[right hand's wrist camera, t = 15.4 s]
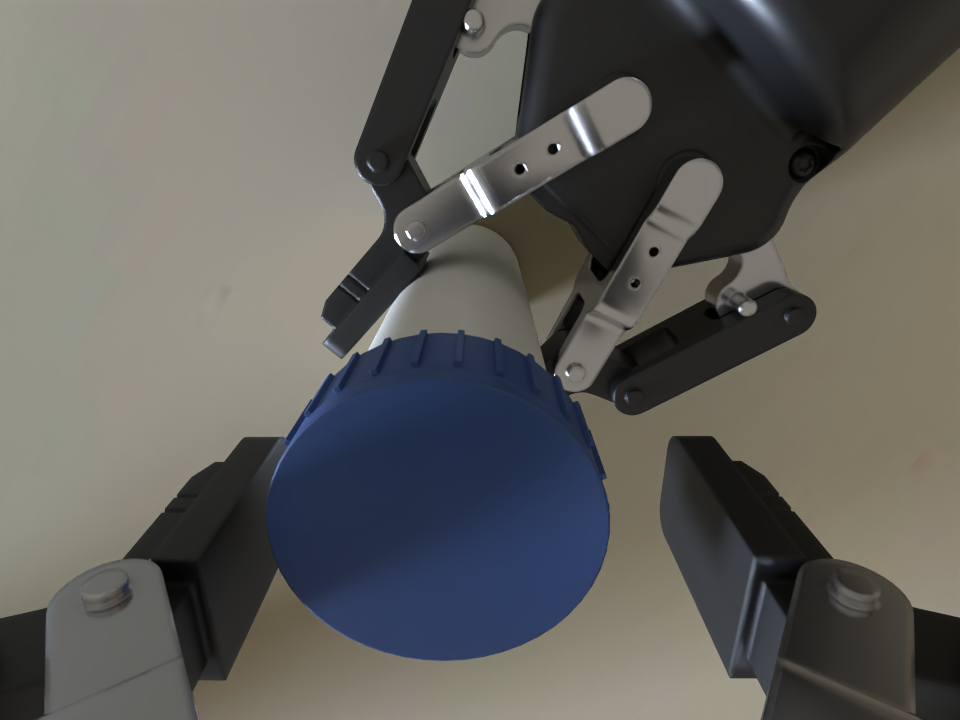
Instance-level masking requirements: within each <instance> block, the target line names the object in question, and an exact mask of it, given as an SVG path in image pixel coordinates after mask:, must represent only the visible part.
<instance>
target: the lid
mask: <svg viewBox="0 0 960 720" xmlns="http://www.w3.org/2000/svg"><path fill="white" fill-rule="evenodd" d="M283 444H284V445H286V446H288V447H287V449H286V450H285V452H284V453H283V455H282V457H281V458H280V460H279V462H278V464H277V466H276V468H275V470H274V471H273V477H272V479H271V484H270V488H269V492H268V497H267V511H266V520H267V530H268V538H269V542H270V545H271V549H272V553H273V556H274V558H275V561H276V563H277V565H278V568H279V570H280V572H281V574H282V575H283V577H284V579H285V580H286V582H287V584H288V585H289V587H290V588H291V589H292V591H293V592H294V593H295V594H296V596H297V597H298V598H299V599H300V601H301V602H302V603H303V604H304V605H305V606H306V607H307V608H308V609H309V610H310V611H311V612H312V613H313V614H314V615H316V616H317V617H318V618H319V619H321V620H322V621H323V622H325V623H326V624H327V625H329V626H330V627H331V628H333V629H335V630H336V631H338V632H340V633H341V634H343V635H345V636H346V637H348V638H350V639H352V640H354V641H356V642H359V643H361V644H363V645H365V646H368V647H371V648H373V649H376V650H379V651H382V652H385V653H389V654H393V655H397V656H402V657H407V658H414V659H421V660H437V661H450V660H466V659H473V658H479V657H485V656H489V655H493V654H497V653H501V652H504V651H507V650H510V649H512V648H515V647H518V646H520V645H523V644H525V643H527V642H529V641H531V640H533V639H535V638H537V637H539V636H540V635H542V634H543V633H545V632H547V631H548V630H550V629H551V628H553V627H554V626H556V625H557V624H558V623H559V622H560V621H562V620H563V619H564V618H565V617H566V616H568V615H569V614H570V613H571V612H572V611H573V609H574V608H575V607H576V606H577V605H578V604H579V603H580V602H581V601H582V599H583V598H584V597H585V595H586V594H587V592H588V591H589V590H590V588H591V587H592V585H593V583H594V581H595V579H596V577H597V575H598V573H599V571H600V569H601V566H602V563H603V560H604V557H605V554H606V551H607V546H608V540H609V534H610V513H609V503H608V500H607V495H606V492H605V488H604V485H603V482H602V480H603V479H606V474H605V471H604V468H603V465H602V462H601V460H600V457H599V454H598V451H597V448H596V446H595V443H594V440H593V437H592V434H591V431H590V430H588V427H587V424H586V421H585V418H584V415H583V412H582V410H581V407H580V404H579V403H578V401H576V402H574V403H573V402H572V400H571V399H570V397H569V396H568V394H567V393H566V391H565V390H564V388H563V385H562V381H561V378H560V377H559V376H558V375H555V376H554V377H553V376H552V375H551V374H550V373H548V372H547V371H546V370H545V369H544V368H542V367H541V366H540V365H539V364H537V363H536V362H535V359H534V356H533V355H532V354H530V353H528V354H527V356H525V355H524V354H522V353H520V352H519V351H516V350H514V349H512V348H510V347H508V346H505V345H503V344H502V342H501V339H499V338H495V339H494V341H492V340H488V339H485V338H482V337H477V336H471V335H466V334H465V330H458V334H457V333H427V330H420V333H419V334H418V335H413V336H408V337H403V338H399V339H396V340H393V341H392V340H391V337H388V338H385V339H384V341H383V343H382V344H381V345H379V346H377V347H375V348H373V349H371V350H369V351H367V352H365V353H363V354H361V355H360V354H359V353H358V352H356V353H355V354H353V355H352V357H351V358H350V360H349V362H348V364H347V365H346V366H345V367H344V368H342V369H341V370H340V371H339V372H338V373H337V374H336V375H335V376H333V375H332V374H331V373H330V374H329V375H328V376H327V378H326V379H325V381H324V382H323V384H322V385H321V387H320V389H319V390H318V392H317V393H316V395H315V397H314V398H313V400H312V399H311V400H310V402H309V403H308V405H307V406H306V408H305V409H304V411H303V413H302V414H301V416H300V417H299V419H298V420H297V422H296V424H295V425H294V427H293V428H292V430H291V431H290V433H289V434H288V436H287V438H286V439H285V441H284V443H283Z"/></svg>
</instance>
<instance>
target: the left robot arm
mask: <svg viewBox="0 0 960 720" xmlns="http://www.w3.org/2000/svg"><path fill="white" fill-rule="evenodd" d="M510 31H523V32H525V33H528V40H527V48H526V55H525V63H524V71H523V79H522V86H521V94H520V102H519V110H518V117H517V125H516V133H515V136H514V137H512V138H511V139H509V140H507V141H506V142H504V143H503V144H501V145H499V146H498V147H496V148H495V149H493V150H491V151H490V152H488V153H487V154H485V155H483V156H482V157H480V158H479V159H477V160H475V161H474V162H472V163H471V164H469V165H468V166H466V167H465V168H463V169H462V170H460V171H459V172H457V173H456V174H454V175H452V176H451V177H449V178H448V179H446V180H444V181H443V182H441V183H440V184H438V185H436V186H435V187H433V188H430V186H429V184H428V182H427V180H426V178H425V177H424V175H423V173H422V171H421V169H420V167H419V165H418V163H417V161H416V160H415V158H416V156H417V153H418V151H419V148H420V146H421V144H422V141H423V139H424V136H425V134H426V132H427V129H428V127H429V124H430V122H431V120H432V117H433V115H434V112H435V110H436V108H437V105H438V103H439V100H440V98H441V96H442V93H443V91H444V88H445V86H446V84H447V81H448V79H449V76H450V74H451V72H452V69H453V67H454V64H455V62H456V59H457V57H458V55H459V53H460V54H462V55H464V56H466V57H470V58H479V57H482V56H484V55H486V54H487V53H489V52H490V51H491V49H492V48H493V47H494V45H495V43H496V42H497V40H498V39H499V38H500V37H501V36H502V35H504V34H505V33H507V32H510ZM958 48H960V0H412V2H411V5H410V8H409V10H408V13H407V16H406V18H405V21H404V23H403V26H402V29H401V31H400V34H399V37H398V39H397V42H396V45H395V47H394V50H393V53H392V55H391V58H390V61H389V63H388V66H387V68H386V71H385V74H384V76H383V79H382V82H381V84H380V87H379V90H378V92H377V95H376V98H375V100H374V103H373V106H372V108H371V111H370V114H369V116H368V119H367V121H366V124H365V127H364V129H363V132H362V135H361V137H360V140H359V143H358V145H357V148H356V151H355V155H354V163H355V167H356V170H357V172H358V174H359V175H360V177H361V178H362V179H363V180H364V181H366V182H367V183H369V185H370V187H371V188H372V190H373V192H374V194H375V196H376V197H377V199H378V201H379V203H380V204H381V207H382V209H383V212H384V217H385V223H384V229H383V232H382V234H381V236H380V237H379V238H378V240H377V241H376V242H375V243H374V244H373V246H372V247H371V248H370V249H369V250H368V251H367V253H366V254H365V255H364V256H363V257H362V259H361V260H360V261H359V262H358V263H357V264H356V266H355V267H354V268H353V269H352V270H351V272H350V273H349V274H348V275H347V276H346V277H345V279H344V280H343V281H342V282H341V283H340V285H339V286H338V287H337V288H336V289H335V290H334V292H333V293H332V294H331V295H330V296H329V297H328V299H327V300H326V302H325V305H324V309H323V312H322V316H321V318H322V319H323V320H324V321H325V322H327V323H328V324H329V325H330V326H332V327H333V328H334V329H333V330H332V332H331V333H330V334H329V336H328V337H327V338H326V340H325V341H324V342H323V345H324V346H325V347H327V348H328V349H329V350H331V351H332V352H333V353H334V354H336V355H337V356H338V357H339V358H341V359H342V358H343V357H344V356H345V355H346V354H347V353H348V352H349V351H350V350H351V349H352V348H353V347H354V345H355V344H356V343H357V342H358V341H359V340H360V339H361V338H362V336H363V335H364V334H365V333H366V332H367V331H368V330H369V329H370V328H371V326H372V325H373V324H374V323H375V322H376V321H377V320H378V319H379V317H380V316H381V315H382V314H383V313H384V312H385V311H386V310H387V308H388V307H389V306H390V305H391V304H392V303H393V302H394V301H395V300H396V298H397V297H398V296H399V294H400V293H401V292H402V291H403V290H404V289H405V288H406V287H407V286H408V285H409V284H410V283H411V282H412V281H413V279H414V278H415V277H416V276H417V275H418V274H419V273H420V272H421V270H422V269H423V267H424V265H425V263H426V260H427V258H428V256H429V252H428V251H429V250H430V249H432V248H434V247H435V246H437V245H439V244H440V243H442V242H444V241H446V240H447V239H449V238H451V237H452V236H454V235H456V234H457V233H459V232H461V231H462V230H464V229H466V228H467V227H469V226H471V225H472V224H474V223H476V222H477V221H479V220H481V219H483V218H485V217H487V216H490V215H492V214H495V213H497V212H498V211H500V210H502V209H504V208H505V207H507V206H509V205H510V204H512V203H514V202H516V201H517V200H519V199H521V198H522V197H524V196H526V195H527V194H530V195H531V196H532V197H533V198H534V199H535V200H536V201H537V202H538V203H539V204H540V205H541V206H542V207H543V208H545V209H546V210H547V211H548V212H550V213H552V214H554V215H556V216H557V217H559V218H561V219H563V220H565V221H566V222H568V223H569V225H570V226H571V228H572V230H573V232H574V234H575V235H576V237H577V239H578V240H579V241H580V242H581V243H582V245H583V246H584V247H585V248H586V249H587V250H588V251H589V254H588V256H587V258H586V260H585V262H584V263H583V265H582V267H581V269H580V271H579V273H578V275H577V277H576V280H575V283H574V288H573V291H572V293H571V295H570V297H569V299H568V301H567V303H566V304H565V306H564V308H563V310H562V312H561V313H560V315H559V317H558V319H557V321H556V322H555V324H554V326H553V328H552V330H551V331H550V333H549V335H548V337H547V340H546V342H545V343H544V344H543V345H542V346H541V347H540V348H541V352H542V356H543V360H544V364H545V367H546V371H547V372H548V373H550V374H551V375H552V376H553V377H554V376H555V375H558V376H559V377H560V378H561V381H562V385H563V388H564V390H565V391H566V393H567V394H568V395H571V394H574V393H578V392H586V393H590V394H593V395H596V396H599V397H601V398H604V399H606V400H609V401H611V402H614V404H615V406H616V408H617V409H618V410H619V411H620V412H622V413H624V414H627V415H638V414H641V413H643V412H645V411H647V410H649V409H651V408H653V407H655V406H657V405H659V404H661V403H663V402H665V401H667V400H669V399H671V398H673V397H675V396H677V395H679V394H682V393H684V392H686V391H688V390H690V389H692V388H694V387H696V386H698V385H700V384H702V383H704V382H706V381H708V380H710V379H712V378H714V377H716V376H718V375H720V374H722V373H724V372H726V371H728V370H730V369H732V368H734V367H736V366H738V365H740V364H742V363H744V362H746V361H748V360H750V359H752V358H754V357H756V356H758V355H760V354H762V353H764V352H766V351H768V350H770V349H772V348H774V347H776V346H778V345H780V344H782V343H784V342H786V341H788V340H790V339H792V338H794V337H796V336H798V335H800V334H802V333H804V332H805V331H806V330H808V329H809V328H810V327H811V325H812V324H813V322H814V320H815V317H816V306H815V304H814V302H813V301H812V300H811V299H810V298H809V297H807V296H805V295H803V294H801V293H799V292H798V291H797V290H795V289H794V288H793V287H792V286H791V284H790V281H789V279H788V276H787V274H786V272H785V269H784V267H783V264H782V262H781V259H780V257H779V254H778V252H777V249H776V247H775V244H774V242H773V239H772V238H773V237H774V236H775V235H776V233H777V232H778V231H779V230H780V228H781V226H782V225H783V222H784V220H785V218H786V215H787V213H788V210H789V208H790V206H791V204H792V202H793V201H794V199H795V197H796V196H797V194H798V193H799V191H800V190H801V189H802V187H803V186H804V185H805V184H806V183H807V182H808V181H809V180H810V179H811V178H813V177H814V176H815V175H816V174H818V173H819V172H820V171H822V170H823V169H824V168H826V167H827V166H828V165H830V164H831V163H832V162H834V161H835V160H836V159H838V158H839V157H840V156H841V155H843V154H844V153H845V152H846V151H848V150H849V149H850V148H851V147H852V146H853V145H854V144H855V143H856V142H857V141H858V140H860V139H861V138H862V137H863V136H864V135H865V134H866V133H867V132H868V131H869V130H870V129H871V128H873V127H874V126H875V125H876V124H877V123H878V122H879V121H880V120H881V119H882V118H883V117H884V116H885V115H887V114H888V113H889V112H890V111H891V110H892V109H893V108H894V107H895V106H896V105H897V104H898V103H900V102H901V101H902V100H903V99H904V98H905V97H906V96H907V95H908V94H909V93H910V92H912V91H913V90H914V89H915V88H916V87H917V86H918V85H919V84H920V83H921V82H922V81H923V80H925V79H926V78H927V77H928V76H929V75H930V74H931V73H932V72H933V71H934V70H935V69H936V68H938V67H939V66H940V65H941V64H942V63H943V62H944V61H945V60H946V59H947V58H948V57H949V56H951V55H952V54H953V53H954V52H955V51H956V50H957V49H958ZM728 256H729V259H728V263H727V266H726V267H725V269H724V270H723V272H722V273H721V274H720V275H718V276H717V277H715V278H714V279H713V280H712V281H711V282H710V283H709V284H708V286H707V288H706V291H705V299H704V300H702V301H701V302H699V303H697V304H695V305H693V306H691V307H689V308H687V309H685V310H683V311H682V312H680V313H678V314H676V315H674V316H672V317H670V318H668V319H666V320H664V321H663V322H661V323H659V324H657V325H655V326H653V327H651V328H649V329H647V330H646V331H644V332H642V333H640V334H638V335H636V336H634V337H632V338H630V339H628V340H627V341H625V342H623V343H621V344H619V345H617V346H616V344H617V342H618V341H619V339H620V337H621V336H622V334H623V333H624V332H625V331H626V330H630V329H631V328H633V327H634V326H635V325H636V323H637V322H638V321H639V319H640V318H641V316H642V314H643V313H644V311H645V309H646V308H647V306H648V304H649V303H650V301H651V299H652V298H653V296H654V295H655V293H656V291H657V290H658V288H659V286H660V285H661V283H662V281H663V280H664V278H665V276H666V275H667V273H668V271H669V270H670V268H672V267H677V266H683V265H688V264H693V263H698V262H703V261H708V260H713V259H718V258H723V257H728ZM633 279H635V281H634V282H633V283H631V281H632V280H633Z"/></svg>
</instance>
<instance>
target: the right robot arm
mask: <svg viewBox="0 0 960 720" xmlns="http://www.w3.org/2000/svg"><path fill="white" fill-rule="evenodd" d="M284 441H285V438H284V437H244V438H243V439H242V440H241V441H240V442H239V444H238V445H237V446H236V447H235V449H234V450H233V451H232V453H231V454H230V455H229V456H228V458H227V459H226V460H225V462H215V463H213V464H211V465H210V466H208V467H207V468H205V469H204V470H202V471H200V472H199V473H197V474H196V475H194V476H193V477H191V479H190V480H189V481H188V482H187V483H186V485H185V486H184V487H183V488H182V489H181V491H180V492H179V493H178V494H177V498H174V499H173V500H172V501H171V502H170V504H169V505H168V506H167V507H166V508H165V513H161V514H160V515H159V517H158V518H157V519H156V520H155V521H154V523H153V524H152V525H151V526H150V527H149V528H148V530H147V531H146V532H145V533H144V534H143V536H142V537H141V538H140V539H139V540H138V542H137V543H136V544H135V545H134V546H133V547H132V549H131V550H130V551H129V552H128V553H127V555H126V556H125V557H124V558H123V559H122V560H117V561H113V562H109V563H106V564H103V565H100V566H97V567H95V568H92V569H90V570H88V571H86V572H84V573H82V574H81V575H79V576H77V577H76V578H74V579H73V580H71V581H70V582H68V583H67V584H66V585H65V586H64V587H62V588H61V589H60V590H59V591H58V592H57V593H56V594H55V596H54V597H53V598H52V600H51V601H50V603H49V605H48V608H44V609H41V610H36V611H32V612H27V613H23V614H18V615H14V616H9V617H5V618H0V720H199V717H198V713H197V709H196V705H195V701H194V697H193V693H192V691H193V690H194V688H195V686H196V684H197V682H198V680H226V679H227V676H228V674H229V672H230V670H231V668H232V666H233V664H234V661H235V659H236V657H237V655H238V653H239V651H240V649H241V646H242V644H243V642H244V640H245V638H246V636H247V634H248V631H249V629H250V627H251V625H252V623H253V621H254V619H255V616H256V614H257V612H258V610H259V608H260V606H261V604H262V601H263V599H264V597H265V595H266V593H267V591H268V588H269V586H270V584H271V582H272V580H273V578H274V576H275V573H276V571H277V569H278V565H277V563H276V561H275V558H274V556H273V553H272V549H271V545H270V542H269V538H268V530H267V520H266V511H267V497H268V492H269V488H270V484H271V479H272V477H273V471H274V470H275V468H276V466H277V464H278V462H279V460H280V458H281V457H282V455H283V453H284V452H285V450H286V449H287V447H288V446H286V445H284V444H283V443H284ZM660 519H661V525H662V530H663V533H664V536H665V538H666V540H667V542H668V545H669V547H670V549H671V551H672V553H673V555H674V558H675V560H676V562H677V564H678V566H679V569H680V571H681V573H682V575H683V577H684V579H685V582H686V584H687V586H688V588H689V590H690V592H691V595H692V597H693V599H694V601H695V603H696V605H697V608H698V610H699V612H700V614H701V616H702V619H703V621H704V623H705V625H706V627H707V629H708V632H709V634H710V636H711V638H712V640H713V642H714V645H715V647H716V649H717V651H718V653H719V655H720V658H721V660H722V662H723V664H724V666H725V668H726V671H727V673H728V675H729V677H730V678H757V679H758V681H759V683H760V685H761V687H762V689H763V691H764V693H765V695H766V701H765V705H764V709H763V713H762V717H761V720H960V618H959V617H954V616H950V615H945V614H941V613H936V612H932V611H927V610H922V609H918V608H914V607H912V605H911V603H910V601H909V600H908V598H907V597H906V596H905V594H904V593H903V592H902V591H901V590H900V589H899V588H898V587H896V586H895V585H894V584H893V583H892V582H890V581H889V580H887V579H886V578H884V577H883V576H881V575H879V574H878V573H876V572H874V571H872V570H870V569H868V568H865V567H863V566H860V565H857V564H854V563H851V562H847V561H843V560H838V559H833V558H832V556H831V555H830V554H829V553H828V552H827V550H826V549H825V548H824V547H823V546H822V544H821V543H820V542H819V541H818V540H817V538H816V537H815V536H814V535H813V534H812V532H811V531H810V530H809V529H808V528H807V526H806V525H805V524H804V523H803V522H802V520H801V519H800V518H799V517H798V516H797V514H796V513H795V512H794V511H791V507H790V506H789V505H788V504H787V502H786V501H785V500H784V499H783V498H782V497H779V493H778V492H777V490H776V489H775V488H774V487H773V486H772V484H771V483H770V482H769V481H768V480H767V478H766V477H765V476H764V475H762V474H761V473H759V472H758V471H756V470H754V469H753V468H751V467H750V466H748V465H747V464H745V463H743V462H742V461H732V460H731V459H730V457H729V456H728V455H727V454H726V452H725V451H724V450H723V448H722V447H721V446H720V445H719V443H718V442H717V441H716V439H715V438H714V437H712V436H673V437H672V438H671V439H670V441H669V444H668V449H667V456H666V464H665V471H664V479H663V486H662V493H661V501H660Z"/></svg>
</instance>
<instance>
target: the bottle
mask: <svg viewBox="0 0 960 720" xmlns="http://www.w3.org/2000/svg"><path fill="white" fill-rule="evenodd" d="M428 252H429V256H428V258H427V260H426V263H425V265H424V267H423V269H422V270H421V272H420V273H419V274H418V275H417V276H416V277H415V278H414V279H413V281H412V282H411V283H410V284H409V285H408V286H407V287H406V288H405V289H404V290H403V291H402V292H401V293H400V294H399V296H398V297H397V298H396V300H395V301H394V302H393V304H392V306H391V308H390V310H389V311H388V313H387V315H386V317H385V319H384V321H383V323H382V325H381V327H380V329H379V331H378V333H377V334H376V336H375V338H374V340H373V342H372V344H371V346H370V348H369V350H371V349H373V348H375V347H377V346H379V345H381V344H382V343H383V341H384V339H385V338H388V337H391V340H392V341H393V340H396V339H399V338H403V337H408V336H413V335H418V334H419V333H420V330H427V333H457V334H458V330H465V334H466V335H471V336H477V337H482V338H485V339H488V340H492V341H494V339H495V338H499V339H501V342H502V344H503V345H505V346H508V347H510V348H512V349H514V350H516V351H519V352H520V353H522V354H524V355H525V356H527V354H528V353H530V354H532V355H533V356H534V359H535V362H536V363H537V364H539V365H540V366H541V367H542V368H544V369H545V370H546V367H545V364H544V360H543V356H542V352H541V348H540V344H539V341H538V337H537V333H536V329H535V325H534V321H533V318H532V314H531V310H530V306H529V302H528V298H527V295H526V291H525V287H524V283H523V279H522V275H521V272H520V268H519V264H518V260H517V258H516V255H515V253H514V252H513V250H512V248H511V247H510V245H509V244H508V243H507V242H506V241H505V240H504V239H503V238H502V237H501V236H500V235H499V234H497V233H496V232H494V231H492V230H490V229H488V228H486V227H483V226H479V225H474V224H472V225H471V226H469V227H467V228H466V229H464V230H462V231H461V232H459V233H457V234H456V235H454V236H452V237H451V238H449V239H447V240H446V241H444V242H442V243H440V244H439V245H437V246H435V247H434V248H432V249H430V250H429V251H428ZM369 350H368V351H369Z"/></svg>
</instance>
